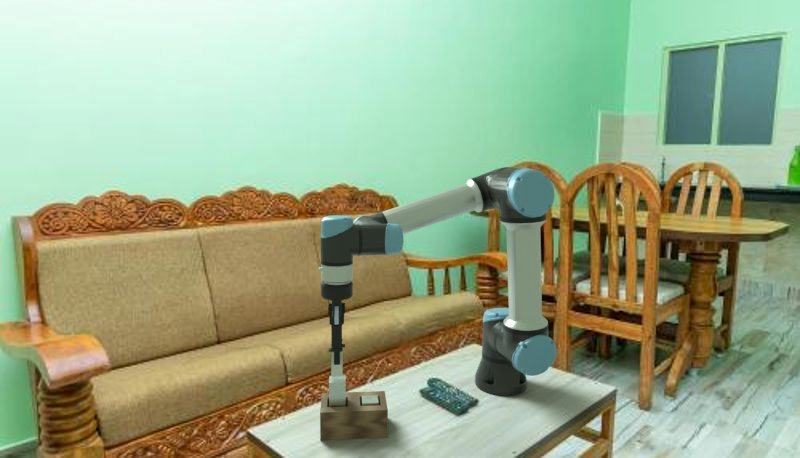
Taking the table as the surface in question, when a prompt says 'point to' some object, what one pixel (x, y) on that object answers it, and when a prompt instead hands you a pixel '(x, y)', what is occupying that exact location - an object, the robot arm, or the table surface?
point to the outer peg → (337, 391)
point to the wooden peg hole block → (354, 418)
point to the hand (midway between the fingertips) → (337, 375)
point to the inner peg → (370, 400)
